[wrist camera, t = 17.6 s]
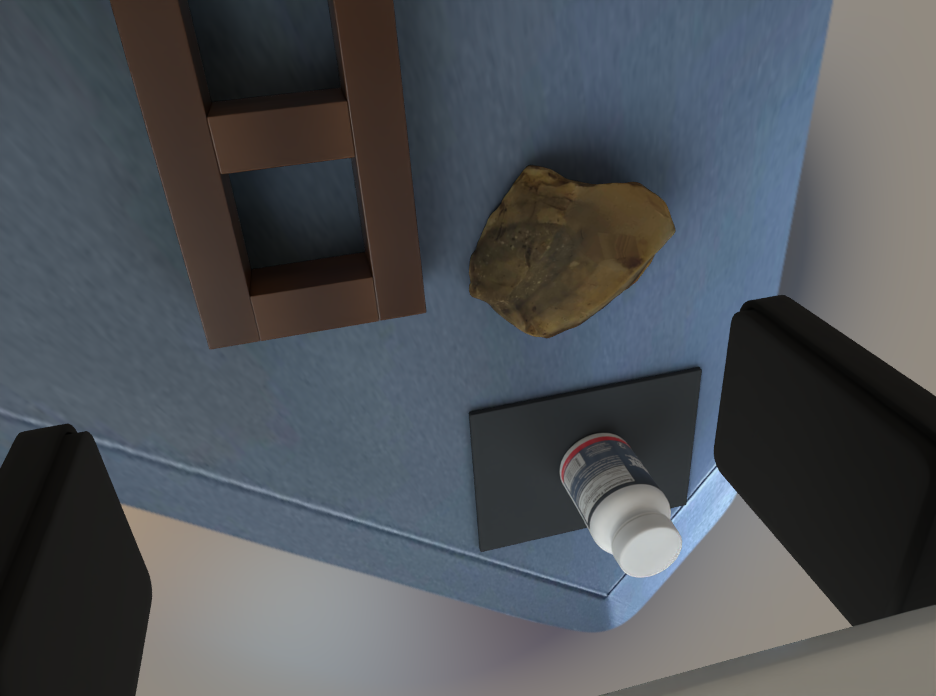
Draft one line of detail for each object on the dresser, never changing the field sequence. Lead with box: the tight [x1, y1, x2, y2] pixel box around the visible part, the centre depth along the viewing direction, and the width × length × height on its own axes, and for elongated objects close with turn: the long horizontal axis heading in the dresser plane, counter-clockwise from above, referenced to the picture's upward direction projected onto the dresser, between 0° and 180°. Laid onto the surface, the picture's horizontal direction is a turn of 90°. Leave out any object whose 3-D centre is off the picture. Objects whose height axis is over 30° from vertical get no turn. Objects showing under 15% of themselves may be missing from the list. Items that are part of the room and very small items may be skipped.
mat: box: [469, 367, 702, 552], centre depth 50 cm, size 16×12×1 cm
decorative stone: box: [469, 165, 676, 338], centre depth 40 cm, size 10×9×4 cm
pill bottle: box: [560, 433, 682, 577], centre depth 46 cm, size 5×5×9 cm
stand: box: [110, 0, 426, 349], centre depth 33 cm, size 11×20×4 cm, turn 3°
